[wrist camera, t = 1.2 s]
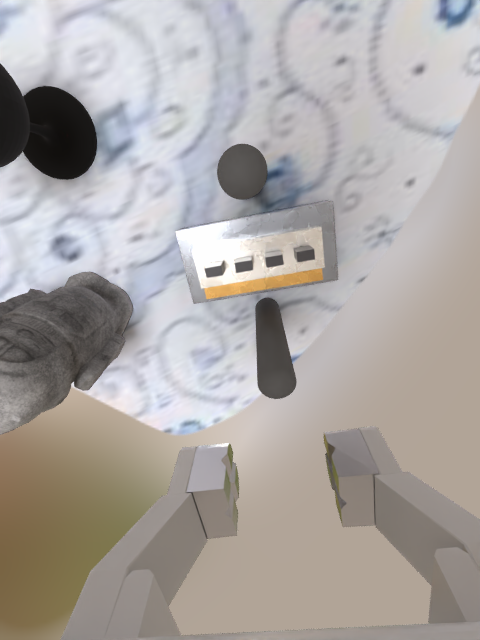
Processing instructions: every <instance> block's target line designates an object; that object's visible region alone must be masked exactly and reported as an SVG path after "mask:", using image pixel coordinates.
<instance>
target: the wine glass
mask: <svg viewBox="0 0 480 640" xmlns="http://www.w3.org/2000/svg"><path fill="white" fill-rule="evenodd" d="M96 149H97V138H96V132H95V128H94V125H93V122H92V119H91V117H90V116H89V114H88V112H87V111H86V109H85V108H84V106H83V105H82V104H81V103H80V102H79V101H78V100H77V99H76V98H75V97H73V96H72V95H71V94H69V93H67V92H66V91H64V90H61V89H59V88H56V87H51V86H43V87H38V88H35V89H32V90H31V91H29V92H28V93H27V94H26V95H25V96H24V97H23V96H22V94H21V91H20V90H19V88H18V86H17V85H16V83H15V81H14V80H13V78H12V77H11V76H10V75H9V73H8V72H7V71H6V69H5V68H4V67H3V66H2V65H1V64H0V167H3V166H5V165H7V164H9V163H10V162H12V161H14V160H15V159H16V158H17V157H18V156H19V155H20V154H21V152H22V151H23V153H24V154H25V156H26V157H27V159H28V160H29V161H30V162H31V163H32V164H33V165H34V166H35V167H36V168H37V169H38V170H40V171H41V172H42V173H44V174H46V175H48V176H50V177H53V178H57V179H73V178H76V177H79V176H80V175H82V174H84V173H85V172H86V171H87V170H88V169H89V167H90V166H91V164H92V163H93V161H94V158H95V155H96Z"/></svg>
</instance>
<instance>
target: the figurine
mask: <svg viewBox="0 0 480 640" xmlns="http://www.w3.org/2000/svg"><path fill="white" fill-rule="evenodd" d="M132 311H133V307H132V303H131V301H130V298H129V296H128V295H127V294H126V292H125V291H124V290H122V289H121V288H119V287H117V286H116V285H114V284H111V283H109V282H108V281H107V280H105V279H104V278H102V277H100V276H99V275H97V274H95V273H92V272H83V273H79V274H76V275H73V276H71V277H69V279H68V281H67V283H66V285H65V287H60V288H58V289H56V290H55V291H52V292H50V293H49V294H46V293H44V292H42V291H40V290H34V289H30V290H29V292H28V293H25V294H22V295H19V296H16V297H13V298H11V299H9V300H7V301H6V302H1V303H0V434H4V433H7V432H9V431H12V430H14V429H16V428H18V427H20V426H22V425H24V424H26V423H28V422H30V421H31V420H33V419H34V418H35V417H37V416H38V415H39V414H40V413H41V412H44V411H46V410H49V409H52V408H54V407H56V406H57V405H59V404H60V403H61V402H62V401H63V400H64V399H65V398H66V397H67V395H68V393H69V391H70V388H71V383H72V382H74V386H75V387H76V388H78V389H81V390H89V389H90V388H91V387H92V385H93V384H94V383H95V382H96V381H97V379H98V378H99V377H100V376H101V374H102V373H103V371H104V370H105V369H106V368H107V367H108V366H109V364H110V363H111V362H112V361H113V360H114V359H116V358H117V357H118V355H119V354H120V352H121V350H122V348H123V346H124V343H125V339H124V337H122V334H123V332H124V330H125V328H126V326H127V324H128V321H129V319H130V317H131V314H132Z"/></svg>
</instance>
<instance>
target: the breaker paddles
mask: <svg viewBox="0 0 480 640" xmlns="http://www.w3.org/2000/svg"><path fill="white" fill-rule="evenodd" d="M293 249H294V257H295V259H296V261H297V262H303V261H309V260H315V252H314V248H312V247H311V246H310V245H309V246H303V247H297V248H293ZM264 255H265V262H266V267H267V268H269V267H274V266H280V265H284V262H283V255H282V253H281V251H275V252H269V253H264ZM204 269H205V273H206V278H211V277H217V276H222V275H223V274H224V272H225V267H224V262H223V261H219V262H213V263H208V264H207V265H206V267H205V268H204ZM235 269H236V273H240V272H246V271H251V270H253V262H252V256H247V257H241V258H236V259H235Z"/></svg>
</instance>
